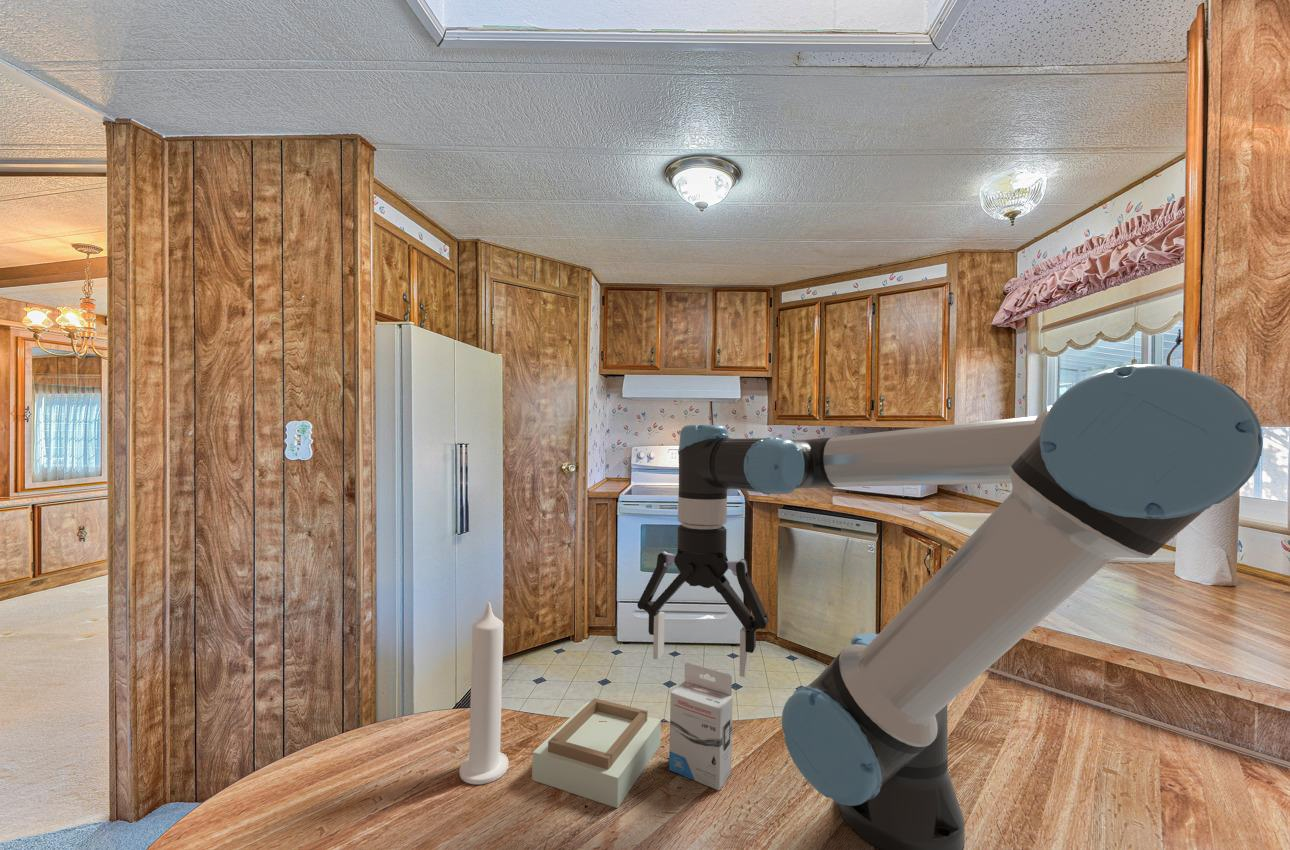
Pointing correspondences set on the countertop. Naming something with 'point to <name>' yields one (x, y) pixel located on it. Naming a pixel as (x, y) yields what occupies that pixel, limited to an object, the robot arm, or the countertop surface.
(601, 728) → the display stand
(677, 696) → the ink box
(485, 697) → the candle
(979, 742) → the countertop surface
